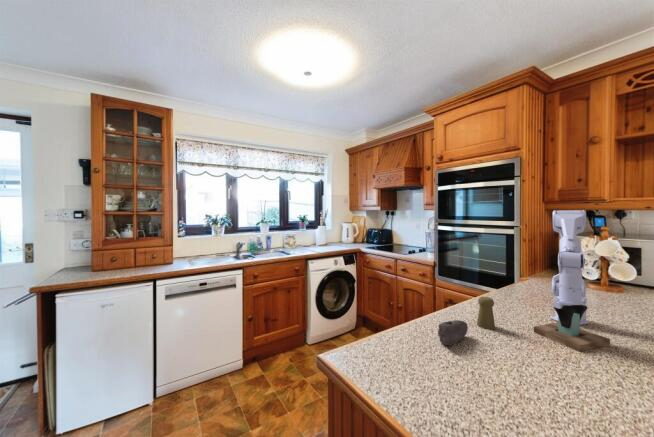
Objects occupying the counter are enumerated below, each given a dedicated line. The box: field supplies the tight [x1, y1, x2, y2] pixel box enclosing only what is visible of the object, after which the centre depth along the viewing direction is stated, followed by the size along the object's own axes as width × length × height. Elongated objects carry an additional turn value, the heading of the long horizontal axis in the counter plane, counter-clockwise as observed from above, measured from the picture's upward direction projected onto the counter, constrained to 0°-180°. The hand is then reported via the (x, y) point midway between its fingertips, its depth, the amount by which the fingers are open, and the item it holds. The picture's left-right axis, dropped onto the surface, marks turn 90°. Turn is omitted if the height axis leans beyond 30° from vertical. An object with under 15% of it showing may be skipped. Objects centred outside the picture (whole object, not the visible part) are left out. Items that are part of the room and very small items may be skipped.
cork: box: [476, 296, 496, 330], centre depth 101 cm, size 6×6×11 cm
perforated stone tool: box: [437, 319, 469, 346], centre depth 90 cm, size 15×5×7 cm, turn 120°
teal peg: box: [557, 313, 581, 338], centre depth 91 cm, size 4×4×7 cm
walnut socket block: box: [533, 321, 611, 353], centre depth 90 cm, size 14×14×2 cm
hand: (569, 326), depth 90 cm, fingers closed on teal peg, 4 cm apart
